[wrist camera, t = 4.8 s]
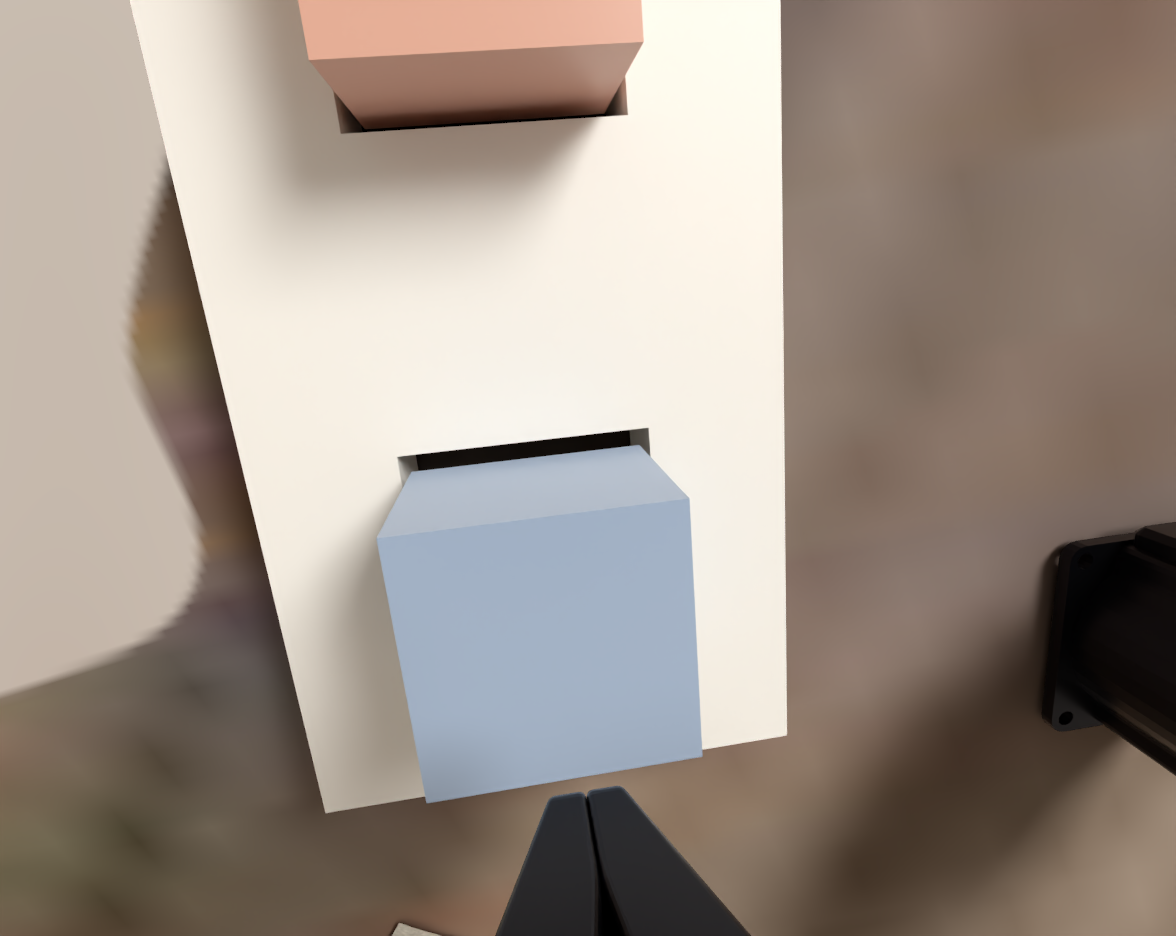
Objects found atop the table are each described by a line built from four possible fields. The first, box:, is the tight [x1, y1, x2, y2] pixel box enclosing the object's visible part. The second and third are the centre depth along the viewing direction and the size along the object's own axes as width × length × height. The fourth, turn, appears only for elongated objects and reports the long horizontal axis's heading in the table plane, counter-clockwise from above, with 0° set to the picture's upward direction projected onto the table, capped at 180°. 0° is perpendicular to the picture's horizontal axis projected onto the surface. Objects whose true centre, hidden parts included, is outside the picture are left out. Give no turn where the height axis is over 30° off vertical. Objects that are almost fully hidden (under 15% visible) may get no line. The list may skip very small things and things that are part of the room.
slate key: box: [376, 445, 703, 803], centre depth 13 cm, size 5×5×4 cm
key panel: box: [129, 0, 787, 813], centre depth 15 cm, size 24×12×2 cm, turn 5°
